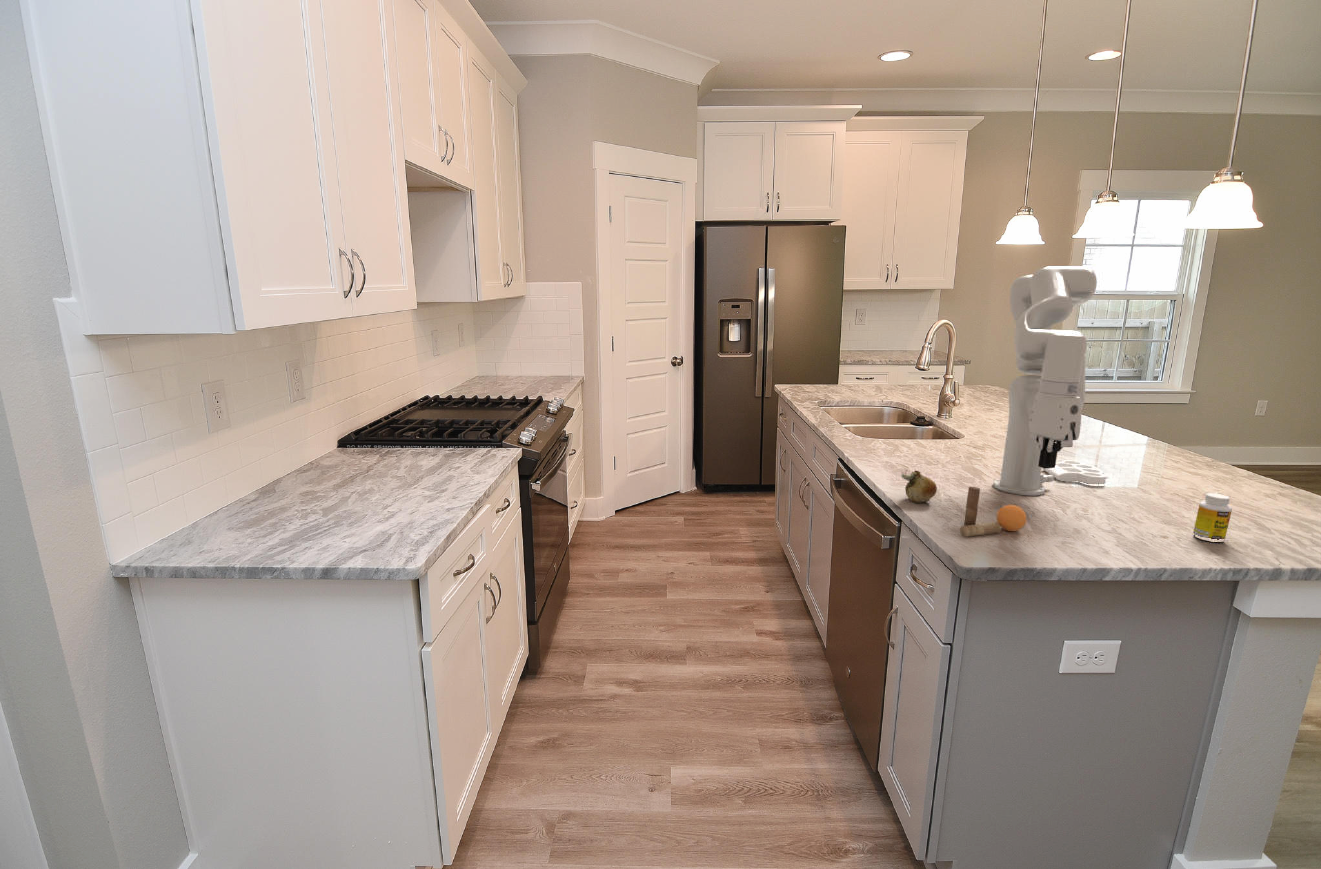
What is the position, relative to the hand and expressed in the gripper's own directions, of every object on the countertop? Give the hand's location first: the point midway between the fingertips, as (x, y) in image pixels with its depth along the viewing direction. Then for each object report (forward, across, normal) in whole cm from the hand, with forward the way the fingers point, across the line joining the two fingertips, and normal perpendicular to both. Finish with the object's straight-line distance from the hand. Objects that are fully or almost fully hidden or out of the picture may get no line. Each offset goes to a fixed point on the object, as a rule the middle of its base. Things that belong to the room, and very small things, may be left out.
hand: (1046, 467), depth 149 cm
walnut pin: (+14, +4, +16) cm, 22 cm away
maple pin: (+13, -2, +13) cm, 19 cm away
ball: (+11, -2, +9) cm, 15 cm away
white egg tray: (+15, +30, -43) cm, 54 cm away
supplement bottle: (+14, -16, -31) cm, 38 cm away
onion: (+14, +21, +17) cm, 31 cm away
